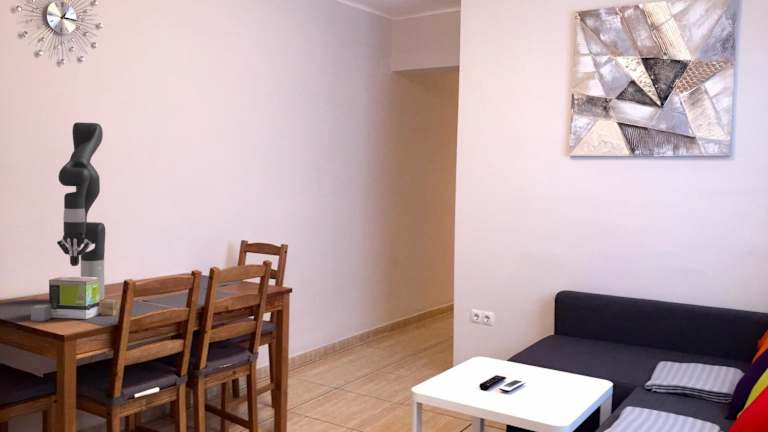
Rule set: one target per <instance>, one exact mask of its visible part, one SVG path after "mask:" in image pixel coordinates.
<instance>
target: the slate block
mask: <svg viewBox="0 0 768 432" xmlns="http://www.w3.org/2000/svg"><path fill="white" fill-rule="evenodd" d="M52 318H53V317H52V306H51V305H49V304H40V303H39V304H36V305H34V306H30V321H35V322H36V321H37V322H38V321H39V322H45V321H47V320H50V319H52Z"/></svg>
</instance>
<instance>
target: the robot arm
mask: <svg viewBox="0 0 768 432" xmlns="http://www.w3.org/2000/svg"><path fill="white" fill-rule="evenodd" d="M71 133H72V144H73V151H72V154H71V155H70V158H69V160H68V162H66V163H65V164H64V165H62V167H61V168H60V171H58V172H59V173H58V177H57V178H58V182H59V184H61V185H62V186H65V187H75V191H72V192H68V193H67V192H66V193H65V194H64V197H63V201H64V202H63V203H64V204H63V208H64V209H63V218H62V219H63V235H62V239H60V240H58V241H57V242H56V244H57V245H58V247H59V248H60V250H62V252H63V253H64V255H68V256H69V264H70V266H72V267H77V266H79V264H80V277H99V301H102V300H104V299H105V252H106V251H105V247H106V225H105V224H104V223H102V222H97V221H95V222H94V221H93V222H90V221H87V220H88V214H89V211H90V209H91V207H92V206H93V204H94V202H95V201H96V200H97V198H98V197H99V194H100V193H101V192H100V190H101V186H100V185H101V181H100V175H99V172H98V171H97V170H96V168H95V167H94V165H93V164H92V163H91V160H92V157H93V156H94V155H95V153H96V151H97V150H98V148H99V147H100V146H101V144H102V142H103V134H104V132H103V128H102V126H101V124H99V123H98V122H97V123H96V122H78V121H77V122H74V123H73V125H72V132H71ZM92 245H94V247H93V248H91V249H90V250H88V249H89V248H90V247H91V246H92ZM87 250H88V251H87Z"/></svg>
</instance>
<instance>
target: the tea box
mask: <svg viewBox="0 0 768 432" xmlns="http://www.w3.org/2000/svg"><path fill="white" fill-rule="evenodd" d="M48 299H49V302H48V305H51V306H52V318H54V319H55V318H56V319H57V318H58V319H60V318H61V319H75V320H76V319H79V320H88V319H90V318H93V317H95V316H98V315H100V307H101V301H100V300H99V277H81V276H73V275H71V276H70V275H62V276H59V277H54V278H52V279H51V278H50V279H49V280H48Z"/></svg>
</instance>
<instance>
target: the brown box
mask: <svg viewBox="0 0 768 432" xmlns="http://www.w3.org/2000/svg"><path fill="white" fill-rule="evenodd" d="M119 313H120V300H118V299H105V300H104V301H100V315H101V316H115V315H117V314H119Z"/></svg>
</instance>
